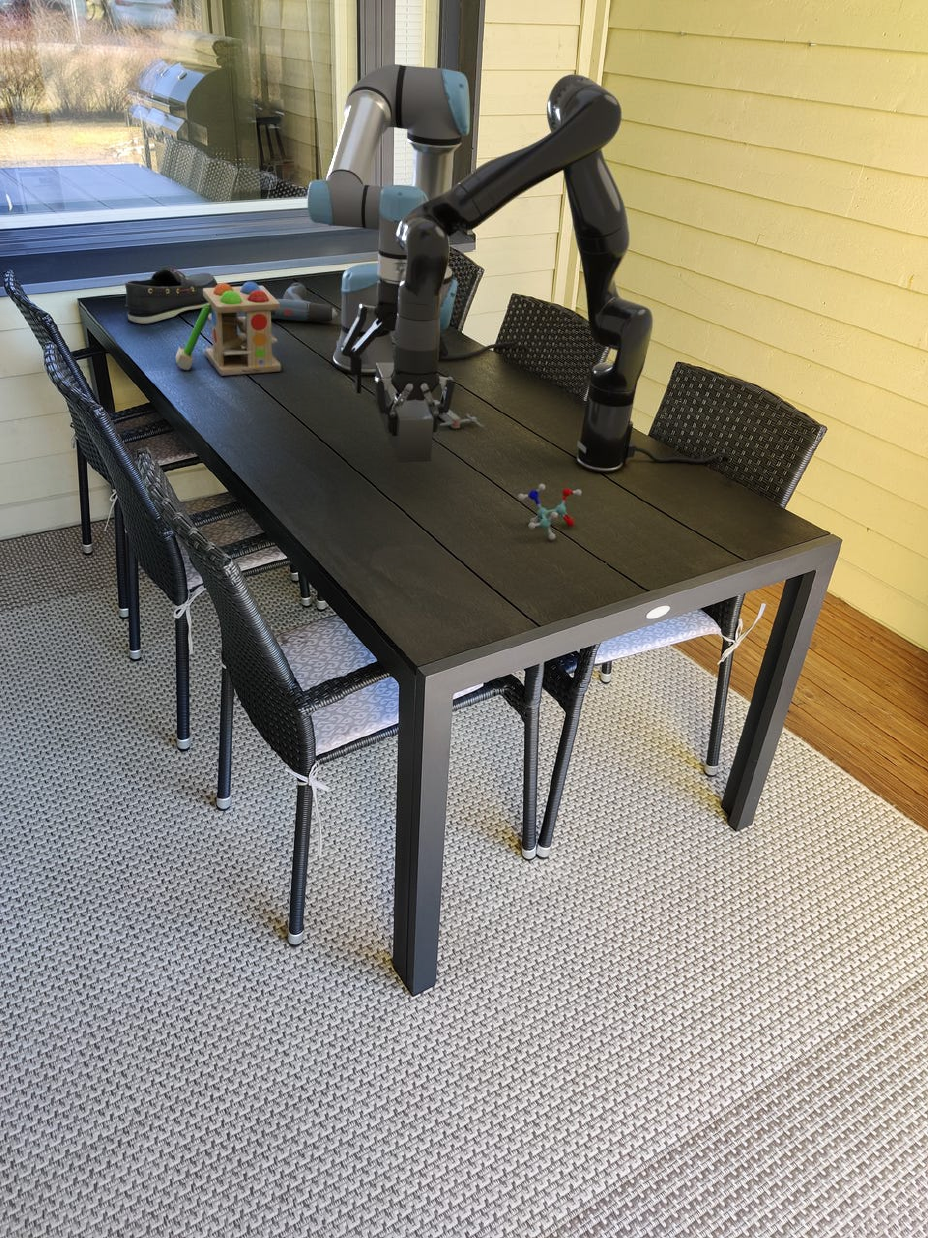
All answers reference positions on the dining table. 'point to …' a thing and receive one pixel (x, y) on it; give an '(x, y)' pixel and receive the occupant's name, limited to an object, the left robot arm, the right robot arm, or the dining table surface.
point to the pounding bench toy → (229, 347)
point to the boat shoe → (166, 295)
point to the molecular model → (554, 512)
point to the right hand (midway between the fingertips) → (412, 433)
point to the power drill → (301, 307)
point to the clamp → (455, 419)
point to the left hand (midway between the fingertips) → (392, 390)
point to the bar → (408, 424)
